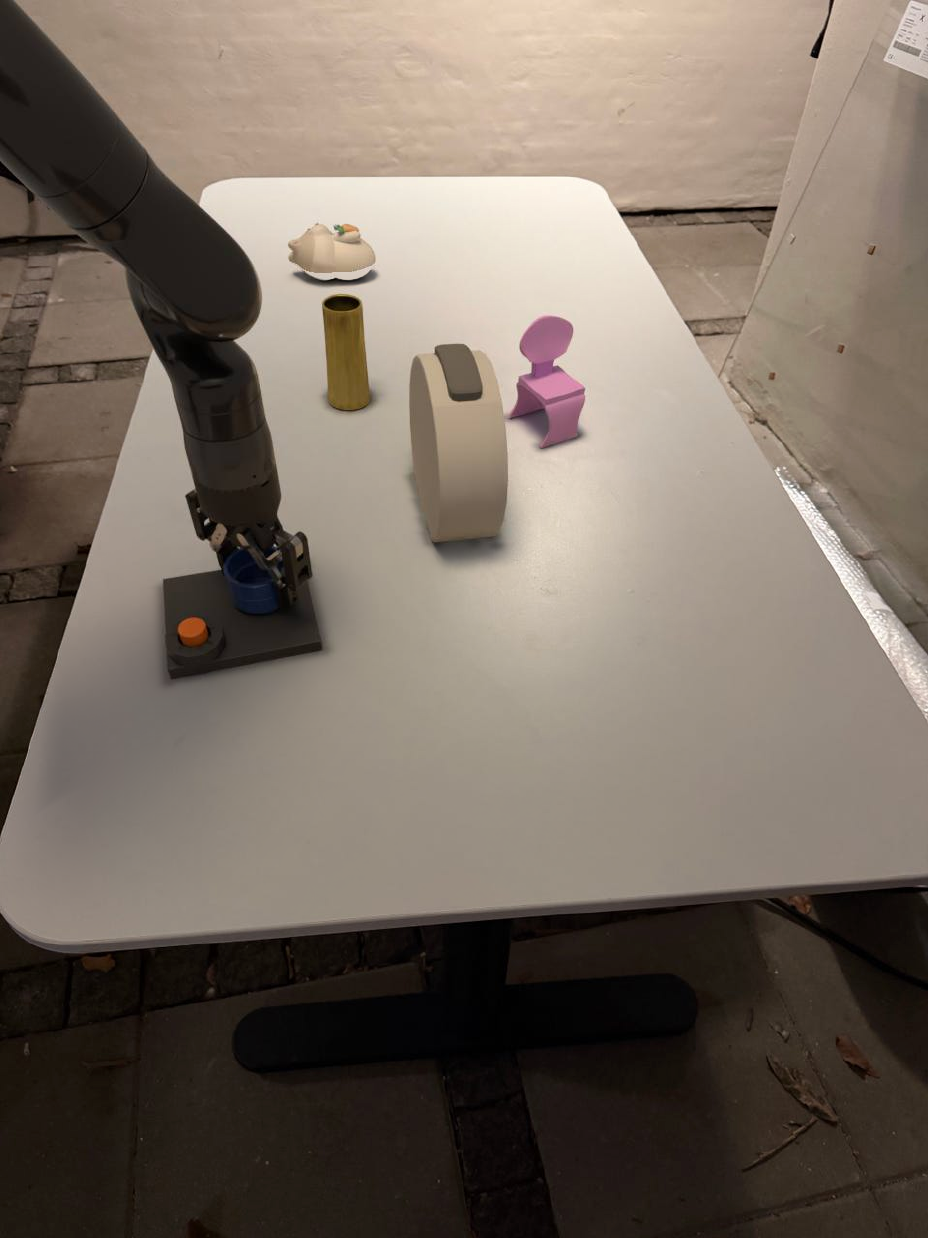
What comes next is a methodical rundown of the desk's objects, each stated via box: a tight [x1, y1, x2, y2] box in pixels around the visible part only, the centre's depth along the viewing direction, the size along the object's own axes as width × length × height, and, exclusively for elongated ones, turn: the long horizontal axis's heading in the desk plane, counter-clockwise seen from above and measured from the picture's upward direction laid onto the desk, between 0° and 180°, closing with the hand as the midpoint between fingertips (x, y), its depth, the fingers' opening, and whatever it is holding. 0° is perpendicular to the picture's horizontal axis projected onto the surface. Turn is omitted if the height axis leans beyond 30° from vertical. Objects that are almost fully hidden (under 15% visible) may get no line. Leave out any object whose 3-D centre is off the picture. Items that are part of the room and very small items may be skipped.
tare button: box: [178, 618, 208, 647], centre depth 76 cm, size 3×3×2 cm
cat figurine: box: [287, 222, 376, 273], centre depth 134 cm, size 10×8×15 cm
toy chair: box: [507, 315, 586, 449], centre depth 103 cm, size 8×9×15 cm
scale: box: [162, 569, 323, 679], centre depth 81 cm, size 15×13×3 cm
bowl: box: [223, 545, 284, 614], centre depth 81 cm, size 6×6×4 cm
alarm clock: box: [408, 343, 509, 543], centre depth 89 cm, size 21×8×20 cm, turn 12°
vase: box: [321, 293, 372, 411], centre depth 106 cm, size 6×6×14 cm
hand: (260, 588), depth 82 cm, fingers open, 7 cm apart
